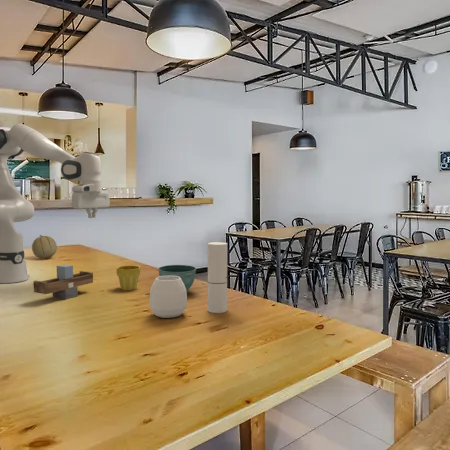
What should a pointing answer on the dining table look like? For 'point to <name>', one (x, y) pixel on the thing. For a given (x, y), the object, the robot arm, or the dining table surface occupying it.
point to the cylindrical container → (217, 277)
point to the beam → (63, 285)
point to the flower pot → (180, 273)
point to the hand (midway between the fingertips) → (91, 217)
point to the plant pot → (128, 276)
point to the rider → (64, 272)
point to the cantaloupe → (44, 247)
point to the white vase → (168, 296)
